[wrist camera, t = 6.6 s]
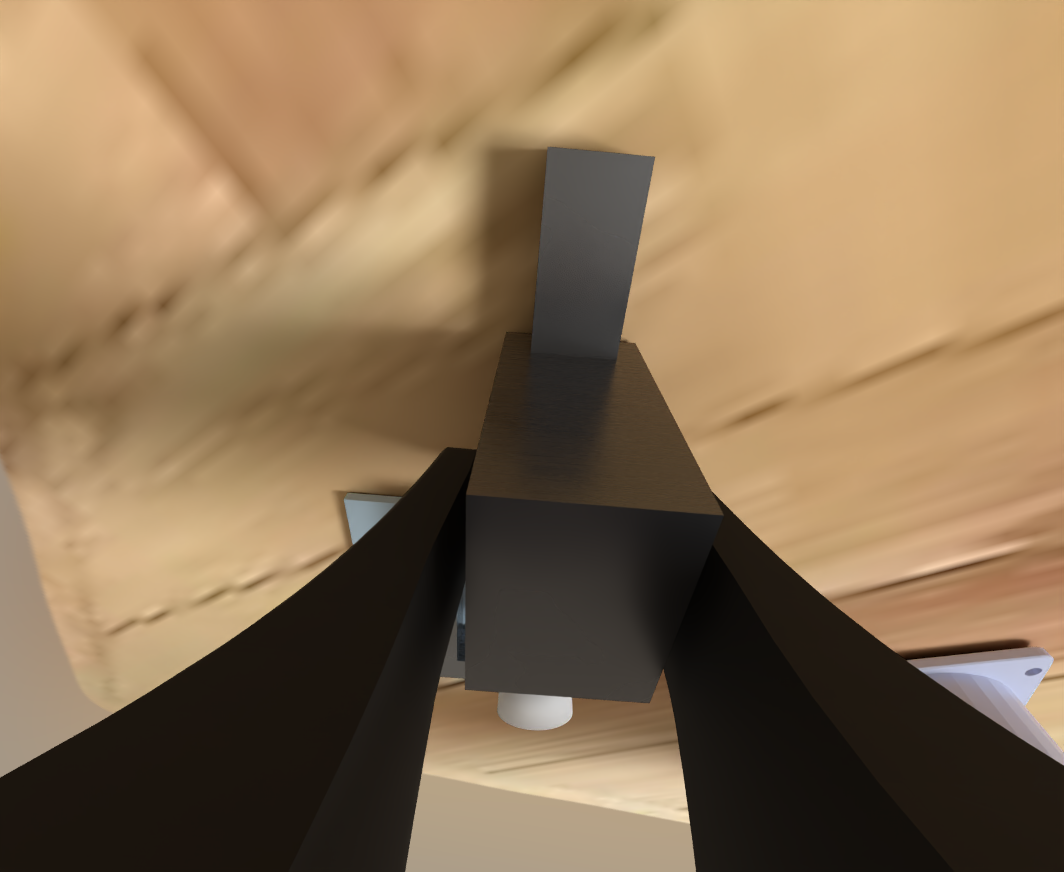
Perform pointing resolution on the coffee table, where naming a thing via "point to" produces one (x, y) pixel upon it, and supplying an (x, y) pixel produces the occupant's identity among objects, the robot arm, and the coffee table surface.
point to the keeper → (511, 706)
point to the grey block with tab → (580, 471)
